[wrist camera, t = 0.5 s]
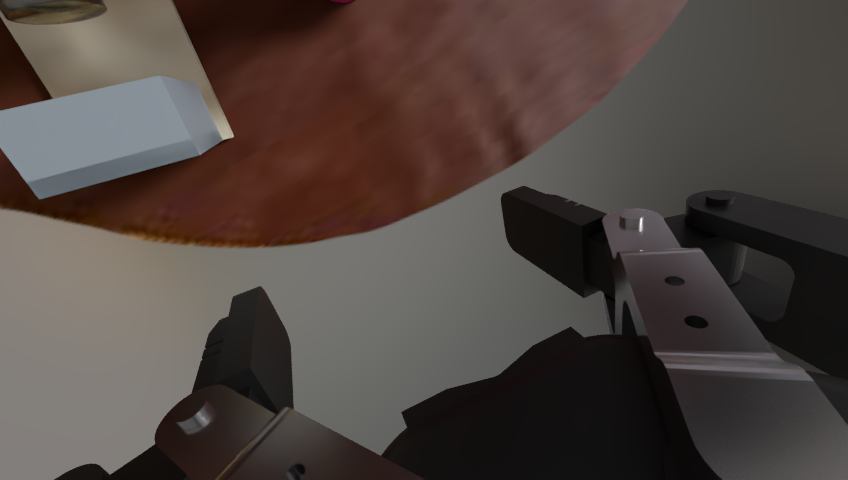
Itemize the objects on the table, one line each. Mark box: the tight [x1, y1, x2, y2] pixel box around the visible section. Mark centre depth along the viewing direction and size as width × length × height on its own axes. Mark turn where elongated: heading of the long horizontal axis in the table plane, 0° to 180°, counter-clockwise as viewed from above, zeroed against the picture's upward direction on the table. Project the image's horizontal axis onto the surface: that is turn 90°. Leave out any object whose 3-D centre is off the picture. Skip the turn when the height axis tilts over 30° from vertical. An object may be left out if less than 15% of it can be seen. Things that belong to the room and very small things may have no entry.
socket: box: [0, 75, 223, 200], centre depth 24 cm, size 4×8×10 cm, turn 104°
